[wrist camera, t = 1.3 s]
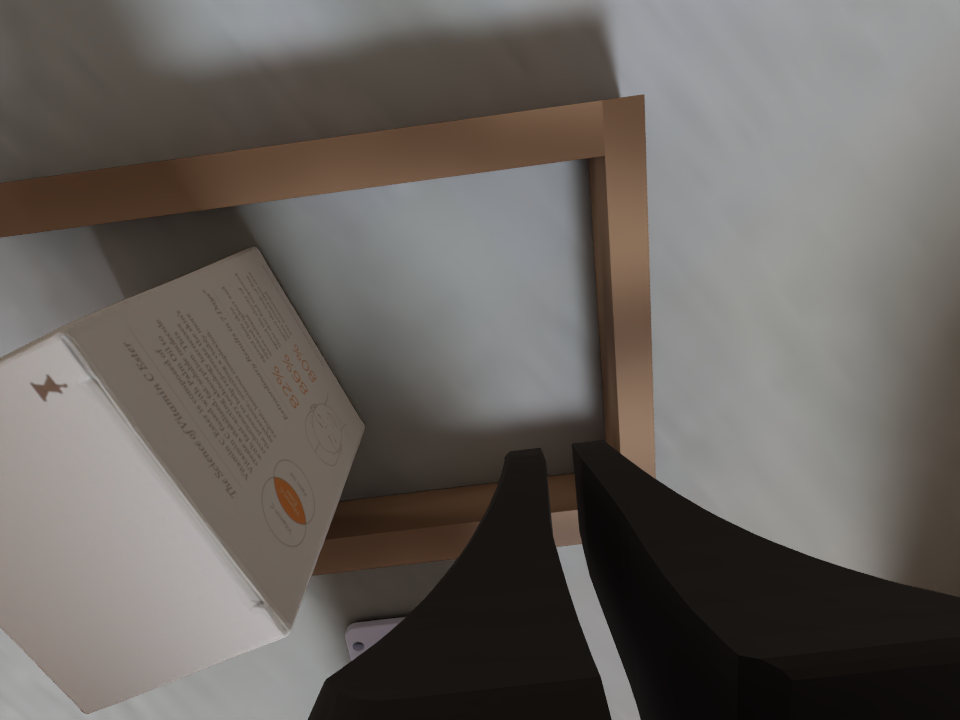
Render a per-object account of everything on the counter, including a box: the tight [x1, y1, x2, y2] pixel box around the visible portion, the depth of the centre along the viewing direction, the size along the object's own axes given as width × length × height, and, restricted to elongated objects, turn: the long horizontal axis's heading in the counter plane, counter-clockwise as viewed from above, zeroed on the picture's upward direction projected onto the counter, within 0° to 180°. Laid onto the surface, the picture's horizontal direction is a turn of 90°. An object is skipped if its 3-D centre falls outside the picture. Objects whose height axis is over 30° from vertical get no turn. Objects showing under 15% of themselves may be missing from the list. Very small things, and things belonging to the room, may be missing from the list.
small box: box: [0, 247, 365, 714], centre depth 16 cm, size 8×6×10 cm
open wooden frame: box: [0, 95, 656, 576], centre depth 20 cm, size 15×21×2 cm
